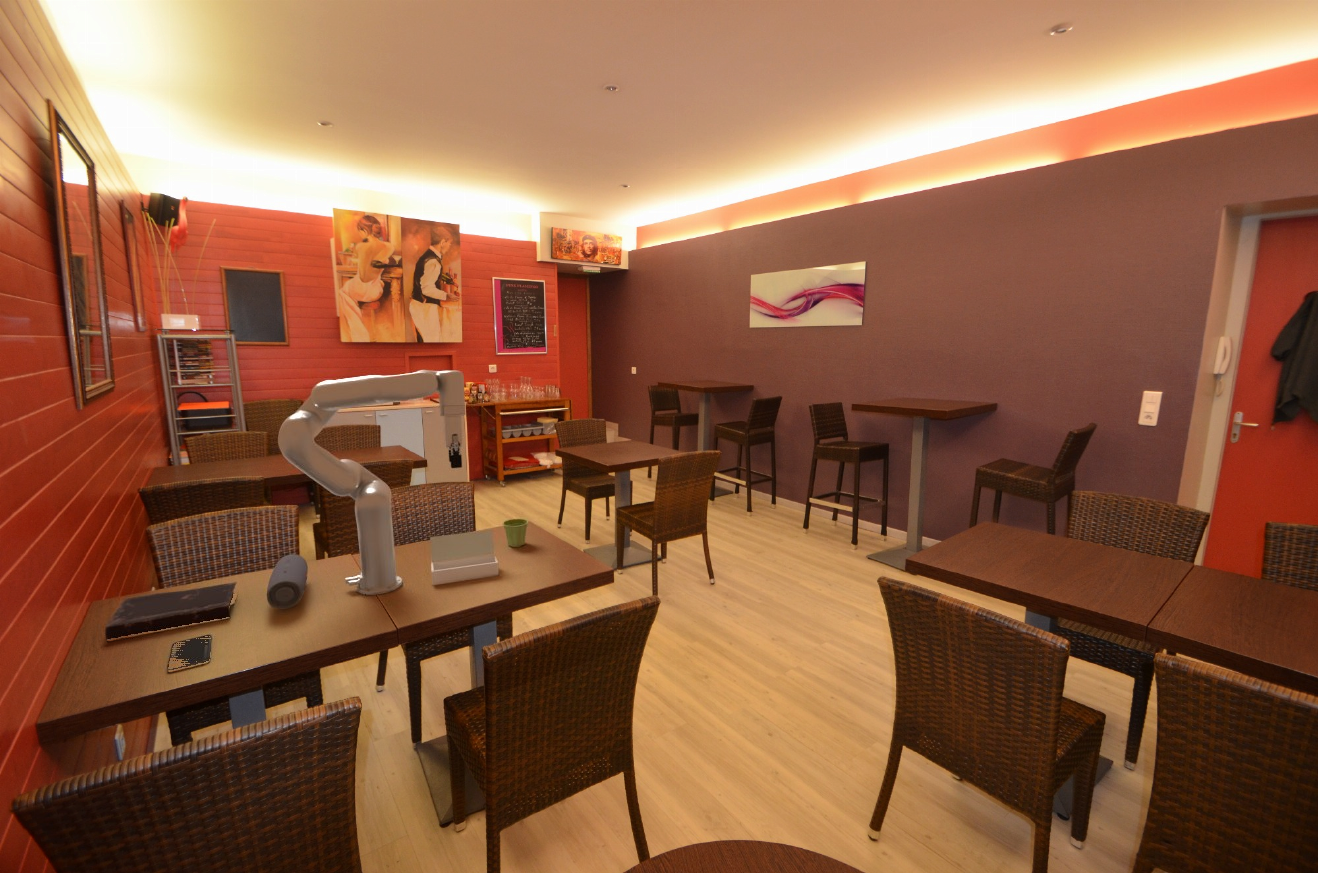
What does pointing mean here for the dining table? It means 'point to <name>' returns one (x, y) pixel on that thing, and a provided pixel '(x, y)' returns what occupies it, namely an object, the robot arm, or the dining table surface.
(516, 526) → the plant pot
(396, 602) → the dining table surface
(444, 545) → the cover
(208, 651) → the phone
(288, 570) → the bluetooth speaker
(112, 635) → the diary
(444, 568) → the white hinged box
